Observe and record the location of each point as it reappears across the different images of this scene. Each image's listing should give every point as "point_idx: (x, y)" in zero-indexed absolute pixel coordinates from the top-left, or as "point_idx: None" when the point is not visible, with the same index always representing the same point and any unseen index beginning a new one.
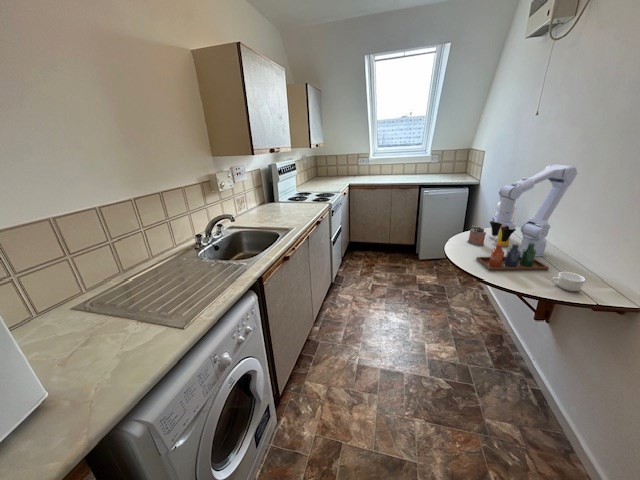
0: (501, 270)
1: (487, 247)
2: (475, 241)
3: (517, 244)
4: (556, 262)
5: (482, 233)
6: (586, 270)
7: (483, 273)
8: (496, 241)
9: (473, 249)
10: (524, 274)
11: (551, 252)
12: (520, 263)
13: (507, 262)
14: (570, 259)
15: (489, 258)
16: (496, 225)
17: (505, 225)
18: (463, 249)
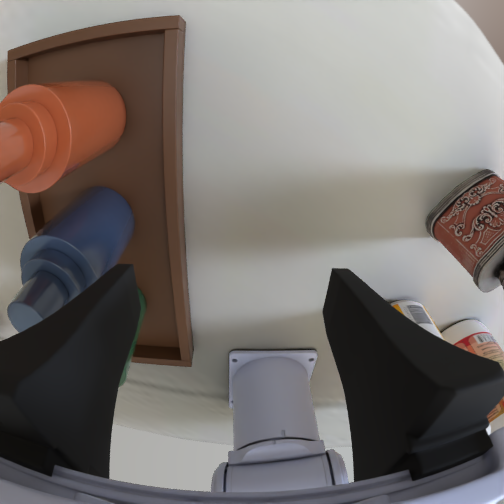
0: None
1: (397, 239)
2: (468, 199)
3: None
4: (175, 406)
5: (487, 259)
6: (123, 425)
7: (19, 19)
8: (411, 314)
9: (393, 123)
10: (25, 233)
11: None
12: None
13: (72, 199)
14: (204, 439)
15: (163, 115)
16: (379, 406)
17: (97, 488)
18: (404, 51)
